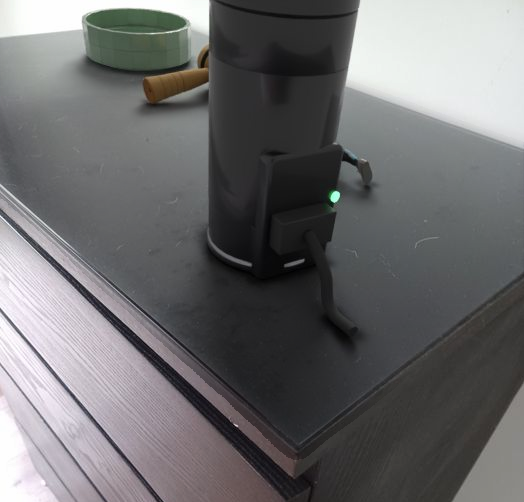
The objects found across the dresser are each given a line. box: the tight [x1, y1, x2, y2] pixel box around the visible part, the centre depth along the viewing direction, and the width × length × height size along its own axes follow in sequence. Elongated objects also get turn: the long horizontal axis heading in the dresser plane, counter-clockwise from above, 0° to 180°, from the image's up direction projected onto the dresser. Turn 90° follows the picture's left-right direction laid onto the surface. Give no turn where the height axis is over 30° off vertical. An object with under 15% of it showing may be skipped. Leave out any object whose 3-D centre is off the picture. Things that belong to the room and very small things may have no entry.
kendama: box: [142, 43, 209, 105], centre depth 68 cm, size 8×6×18 cm
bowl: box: [81, 7, 192, 72], centre depth 78 cm, size 15×15×5 cm
